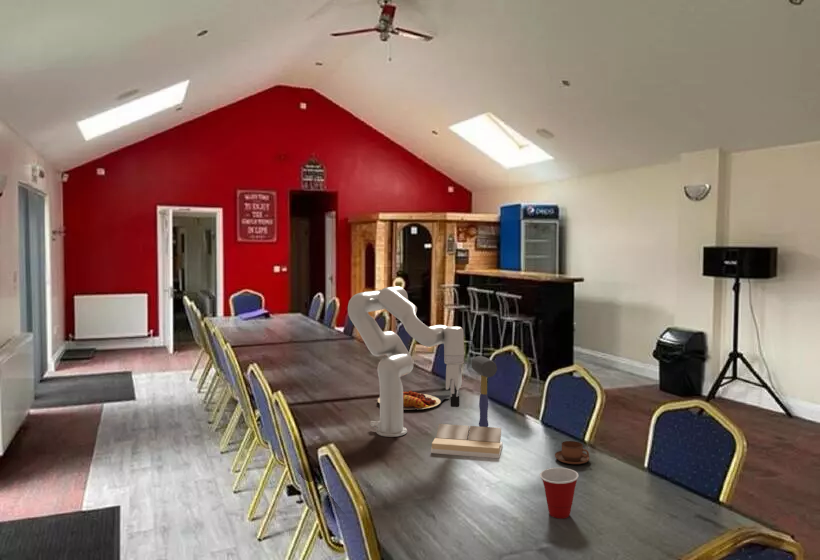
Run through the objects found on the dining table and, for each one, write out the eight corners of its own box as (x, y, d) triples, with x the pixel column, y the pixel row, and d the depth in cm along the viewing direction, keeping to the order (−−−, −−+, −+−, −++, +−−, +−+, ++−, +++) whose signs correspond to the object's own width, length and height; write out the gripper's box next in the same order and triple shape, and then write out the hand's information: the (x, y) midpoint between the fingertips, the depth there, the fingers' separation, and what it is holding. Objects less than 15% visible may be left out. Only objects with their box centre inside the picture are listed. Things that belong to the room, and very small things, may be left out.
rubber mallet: (498, 432, 255) (498, 359, 253) (481, 433, 253) (481, 360, 251) (486, 423, 267) (486, 354, 265) (469, 424, 265) (470, 355, 263)
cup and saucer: (590, 457, 225) (590, 440, 225) (588, 469, 214) (588, 451, 214) (556, 453, 229) (556, 437, 229) (552, 464, 218) (553, 447, 218)
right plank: (468, 443, 234) (468, 439, 233) (470, 429, 240) (470, 425, 239) (499, 445, 232) (499, 442, 231) (501, 431, 237) (501, 427, 236)
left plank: (436, 441, 237) (436, 437, 236) (439, 427, 243) (438, 423, 242) (467, 443, 235) (466, 439, 233) (469, 429, 240) (469, 425, 239)
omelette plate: (456, 398, 308) (456, 384, 307) (419, 418, 279) (418, 403, 278) (403, 391, 325) (403, 378, 324) (363, 410, 295) (362, 395, 295)
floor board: (431, 453, 230) (431, 443, 229) (438, 441, 243) (438, 432, 243) (499, 458, 224) (499, 448, 224) (502, 445, 238) (502, 436, 237)
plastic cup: (534, 507, 183) (535, 467, 182) (570, 505, 184) (571, 465, 183) (545, 523, 172) (546, 481, 171) (583, 522, 173) (584, 480, 172)
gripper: (447, 355, 246) (448, 401, 247) (441, 362, 231) (442, 411, 232) (466, 355, 244) (467, 402, 245) (461, 362, 230) (461, 411, 231)
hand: (455, 406), depth 239 cm, fingers closed
